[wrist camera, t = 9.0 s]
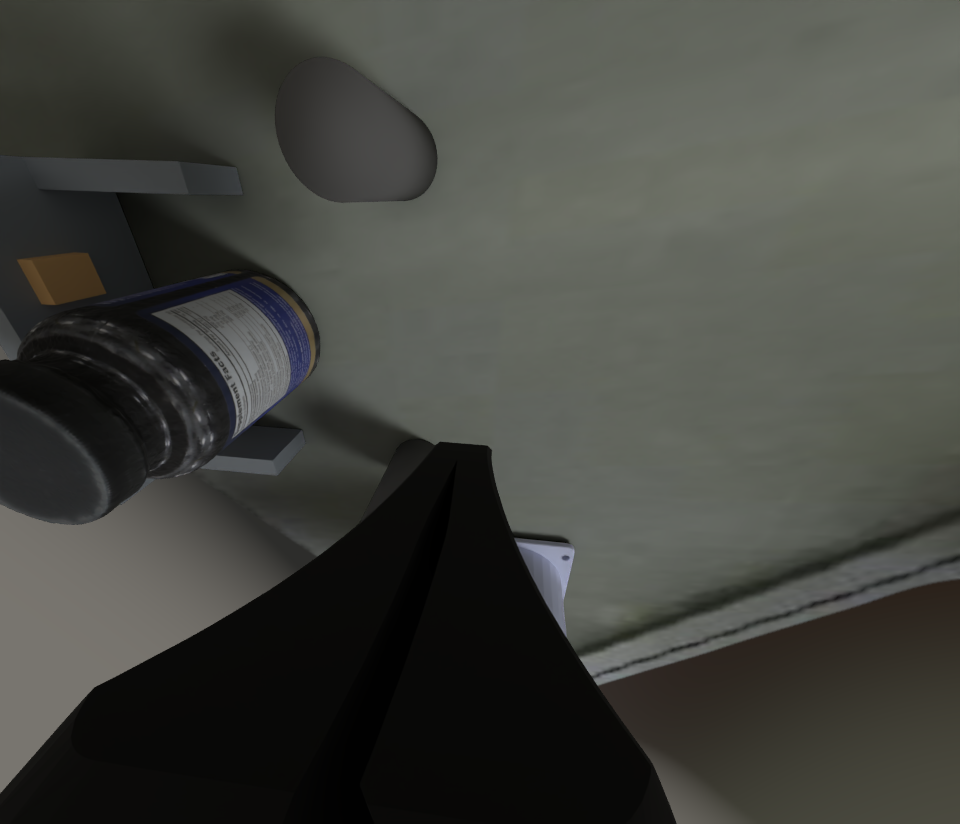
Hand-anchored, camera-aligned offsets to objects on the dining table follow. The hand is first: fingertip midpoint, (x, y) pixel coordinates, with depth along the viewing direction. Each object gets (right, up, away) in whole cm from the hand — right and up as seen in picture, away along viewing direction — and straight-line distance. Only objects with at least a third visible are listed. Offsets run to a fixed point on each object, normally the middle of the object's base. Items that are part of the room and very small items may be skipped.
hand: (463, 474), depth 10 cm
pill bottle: (-10, +6, +10) cm, 15 cm away
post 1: (-3, +12, +5) cm, 13 cm away
